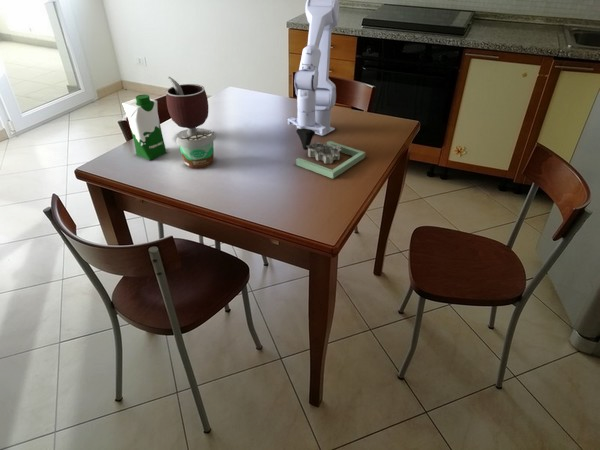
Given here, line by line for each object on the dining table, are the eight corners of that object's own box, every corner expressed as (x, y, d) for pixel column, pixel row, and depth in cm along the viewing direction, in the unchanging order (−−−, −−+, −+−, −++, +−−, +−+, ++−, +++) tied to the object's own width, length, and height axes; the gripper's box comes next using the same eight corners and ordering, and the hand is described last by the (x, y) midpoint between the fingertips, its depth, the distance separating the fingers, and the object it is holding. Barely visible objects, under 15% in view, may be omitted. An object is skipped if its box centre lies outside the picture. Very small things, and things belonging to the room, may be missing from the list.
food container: (185, 174, 131) (180, 144, 125) (180, 166, 135) (174, 136, 130) (223, 165, 136) (219, 136, 130) (217, 157, 140) (213, 129, 134)
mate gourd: (220, 135, 155) (213, 80, 143) (190, 148, 146) (180, 90, 135) (193, 125, 163) (184, 72, 151) (163, 136, 154) (151, 81, 143)
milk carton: (149, 162, 138) (135, 102, 126) (132, 155, 142) (116, 96, 130) (170, 152, 143) (158, 94, 132) (153, 146, 148) (140, 88, 136)
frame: (296, 165, 135) (296, 159, 134) (329, 146, 147) (329, 140, 145) (333, 178, 128) (333, 173, 127) (364, 157, 139) (365, 152, 138)
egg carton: (343, 158, 139) (343, 147, 136) (327, 166, 135) (327, 154, 132) (319, 148, 145) (320, 137, 143) (304, 155, 141) (304, 143, 139)
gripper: (280, 108, 135) (282, 147, 143) (316, 118, 127) (316, 159, 135) (294, 102, 139) (295, 140, 147) (330, 111, 132) (329, 151, 140)
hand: (306, 148), depth 142 cm, fingers closed
